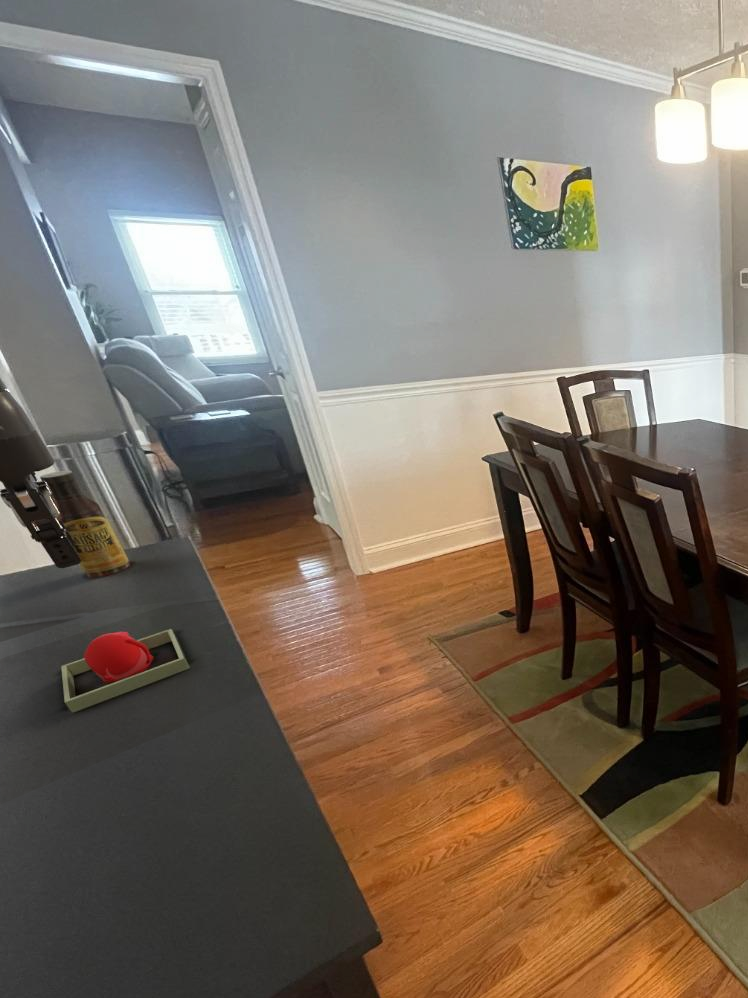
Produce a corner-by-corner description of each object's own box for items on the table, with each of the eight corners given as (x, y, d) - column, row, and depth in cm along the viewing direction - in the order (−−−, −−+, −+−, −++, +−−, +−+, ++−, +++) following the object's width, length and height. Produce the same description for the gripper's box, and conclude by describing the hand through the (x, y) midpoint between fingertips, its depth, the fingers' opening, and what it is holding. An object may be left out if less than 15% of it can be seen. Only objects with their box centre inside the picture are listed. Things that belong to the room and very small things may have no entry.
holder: (72, 713, 77) (64, 702, 76) (68, 676, 85) (60, 666, 84) (190, 668, 85) (183, 658, 84) (177, 638, 92) (171, 628, 91)
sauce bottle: (89, 585, 110) (24, 483, 100) (87, 575, 113) (24, 476, 104) (137, 571, 114) (78, 472, 104) (133, 562, 118) (76, 466, 108)
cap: (164, 670, 85) (142, 636, 82) (107, 694, 80) (82, 658, 78) (149, 652, 89) (127, 618, 86) (94, 673, 85) (70, 639, 82)
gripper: (-59, 432, 72) (23, 552, 79) (-65, 452, 63) (28, 584, 71) (31, 419, 77) (100, 533, 84) (37, 435, 68) (113, 560, 76)
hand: (67, 556), depth 77 cm, fingers open, 8 cm apart
